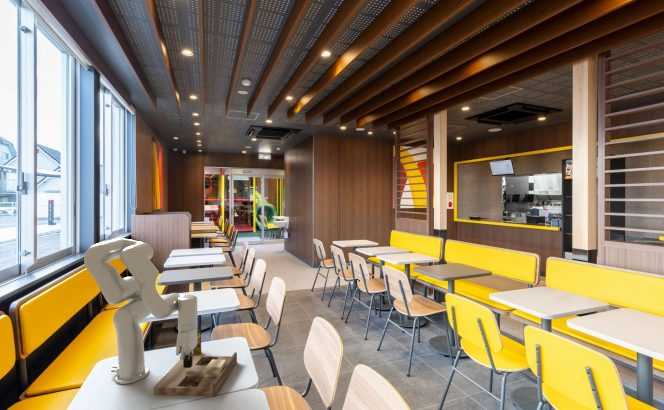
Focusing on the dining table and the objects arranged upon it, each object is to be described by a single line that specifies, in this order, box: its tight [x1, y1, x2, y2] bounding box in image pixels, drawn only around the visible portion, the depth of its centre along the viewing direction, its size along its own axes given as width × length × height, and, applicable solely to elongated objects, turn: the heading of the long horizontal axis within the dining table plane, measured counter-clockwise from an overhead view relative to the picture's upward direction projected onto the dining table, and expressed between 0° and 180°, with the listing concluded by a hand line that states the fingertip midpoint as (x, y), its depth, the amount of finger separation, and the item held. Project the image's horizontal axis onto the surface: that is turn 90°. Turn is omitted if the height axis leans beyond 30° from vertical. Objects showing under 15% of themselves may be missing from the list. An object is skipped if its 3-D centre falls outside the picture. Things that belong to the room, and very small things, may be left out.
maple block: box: [206, 359, 226, 376], centre depth 140 cm, size 6×6×4 cm
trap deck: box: [153, 351, 238, 397], centre depth 141 cm, size 25×24×5 cm
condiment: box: [193, 328, 204, 356], centre depth 159 cm, size 7×8×12 cm
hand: (187, 366), depth 141 cm, fingers closed
